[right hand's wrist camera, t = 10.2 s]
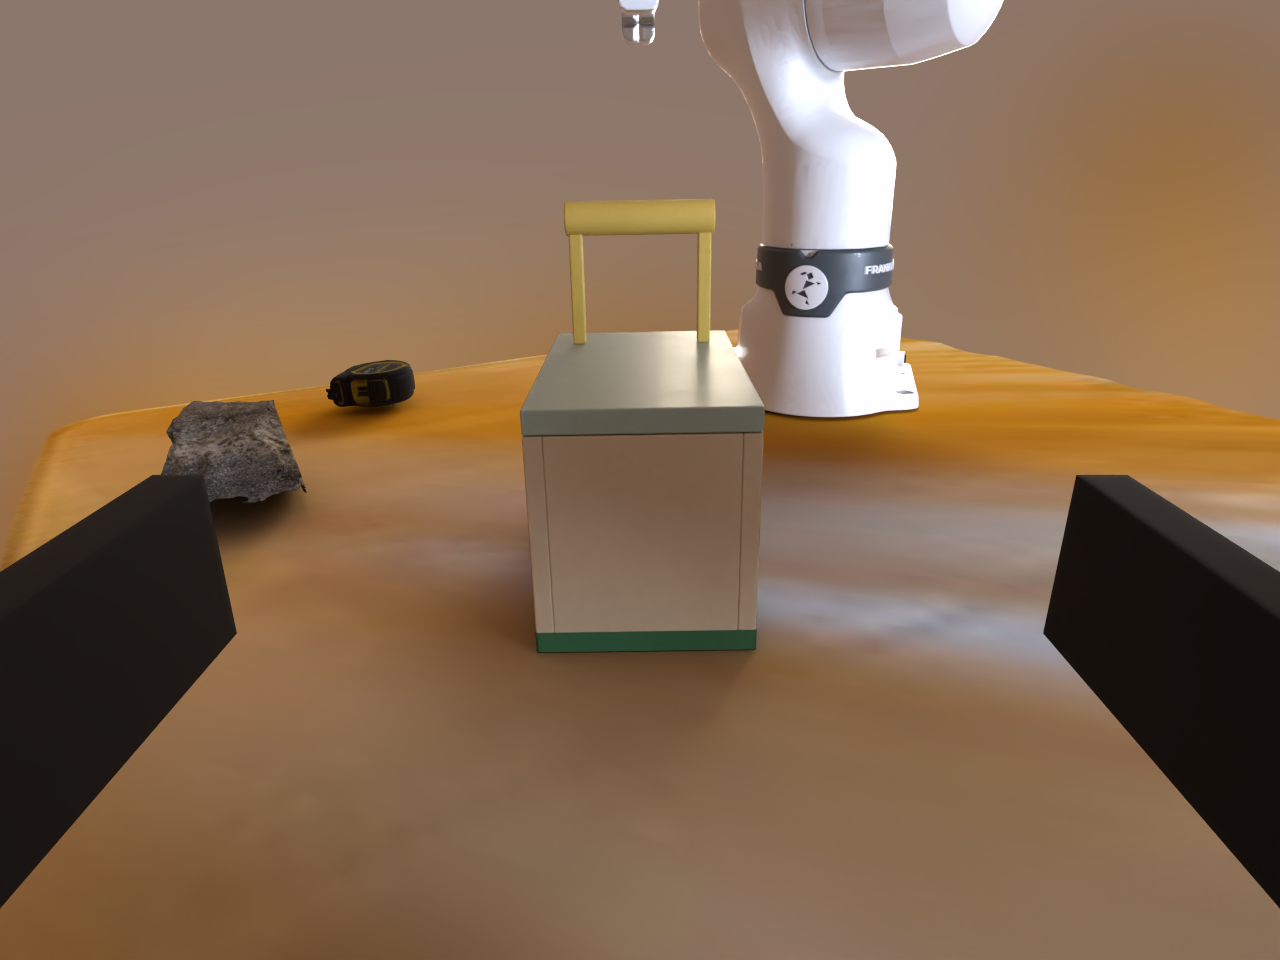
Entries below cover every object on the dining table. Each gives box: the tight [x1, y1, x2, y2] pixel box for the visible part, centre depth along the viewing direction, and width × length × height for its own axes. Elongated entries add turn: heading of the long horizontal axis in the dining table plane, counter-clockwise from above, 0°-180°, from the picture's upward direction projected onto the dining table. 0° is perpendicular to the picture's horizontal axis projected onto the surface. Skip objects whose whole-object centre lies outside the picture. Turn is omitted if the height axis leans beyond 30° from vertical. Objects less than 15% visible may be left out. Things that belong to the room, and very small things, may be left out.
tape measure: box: [326, 360, 415, 407], centre depth 77 cm, size 7×7×4 cm
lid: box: [520, 199, 765, 436], centre depth 40 cm, size 17×10×9 cm, turn 0°
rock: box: [161, 400, 307, 503], centre depth 53 cm, size 13×9×6 cm, turn 27°
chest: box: [522, 432, 764, 652], centre depth 43 cm, size 16×10×10 cm, turn 0°
